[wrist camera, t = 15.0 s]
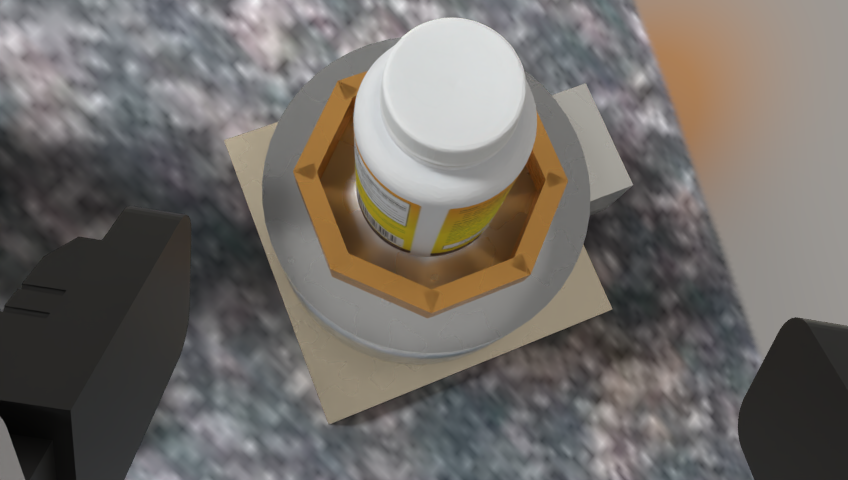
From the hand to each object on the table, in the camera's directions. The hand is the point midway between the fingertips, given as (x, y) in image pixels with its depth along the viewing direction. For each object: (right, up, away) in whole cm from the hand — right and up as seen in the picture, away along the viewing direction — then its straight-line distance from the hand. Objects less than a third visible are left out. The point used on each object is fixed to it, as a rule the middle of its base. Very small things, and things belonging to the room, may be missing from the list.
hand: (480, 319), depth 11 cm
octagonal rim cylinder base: (-1, +1, +28) cm, 28 cm away
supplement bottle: (-1, +3, +21) cm, 21 cm away
